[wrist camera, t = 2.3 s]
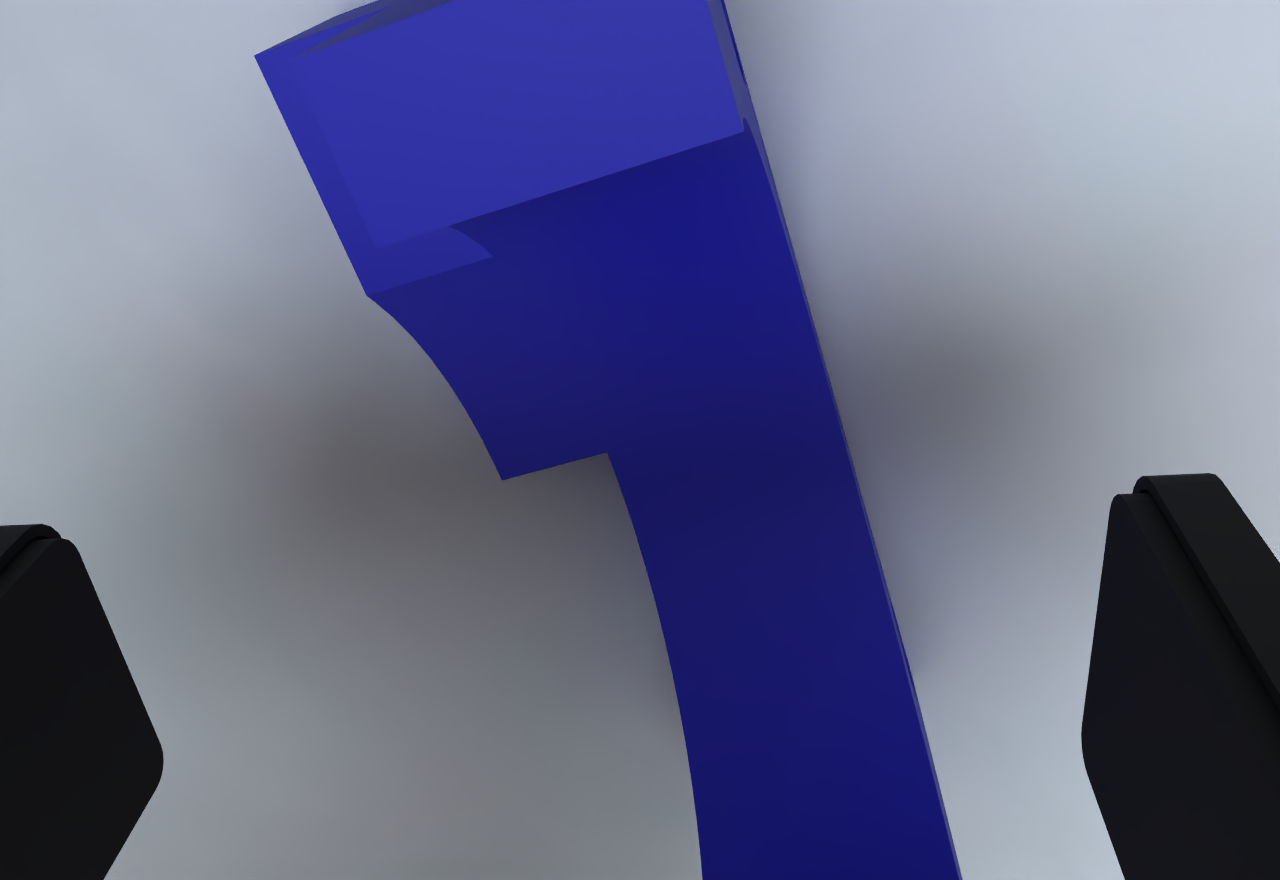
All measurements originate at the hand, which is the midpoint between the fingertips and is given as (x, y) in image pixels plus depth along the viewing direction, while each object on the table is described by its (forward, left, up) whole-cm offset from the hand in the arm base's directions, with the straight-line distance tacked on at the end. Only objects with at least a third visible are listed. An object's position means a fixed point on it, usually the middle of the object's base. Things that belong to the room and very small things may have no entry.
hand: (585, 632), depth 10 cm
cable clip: (-1, 0, -6) cm, 6 cm away
